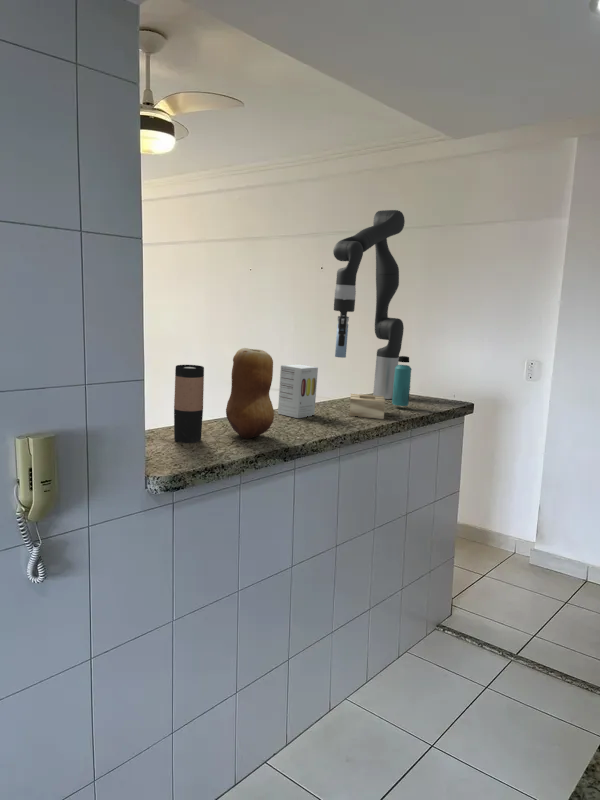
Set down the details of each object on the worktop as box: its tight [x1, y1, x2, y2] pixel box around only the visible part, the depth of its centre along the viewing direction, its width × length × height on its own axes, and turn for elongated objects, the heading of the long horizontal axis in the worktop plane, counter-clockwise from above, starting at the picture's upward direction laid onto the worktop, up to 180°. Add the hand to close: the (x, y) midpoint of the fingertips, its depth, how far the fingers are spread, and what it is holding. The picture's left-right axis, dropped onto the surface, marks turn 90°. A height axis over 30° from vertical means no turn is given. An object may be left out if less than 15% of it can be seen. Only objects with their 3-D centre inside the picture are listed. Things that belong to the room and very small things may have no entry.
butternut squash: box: [225, 347, 275, 440], centre depth 166 cm, size 14×13×25 cm
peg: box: [334, 323, 349, 359], centre depth 217 cm, size 4×4×12 cm
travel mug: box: [173, 364, 205, 444], centre depth 159 cm, size 8×8×20 cm
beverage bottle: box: [391, 355, 412, 407], centre depth 225 cm, size 6×7×20 cm
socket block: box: [348, 393, 386, 420], centre depth 211 cm, size 12×12×6 cm
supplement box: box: [277, 363, 319, 419], centre depth 201 cm, size 10×9×17 cm
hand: (341, 345), depth 217 cm, fingers closed on peg, 4 cm apart
